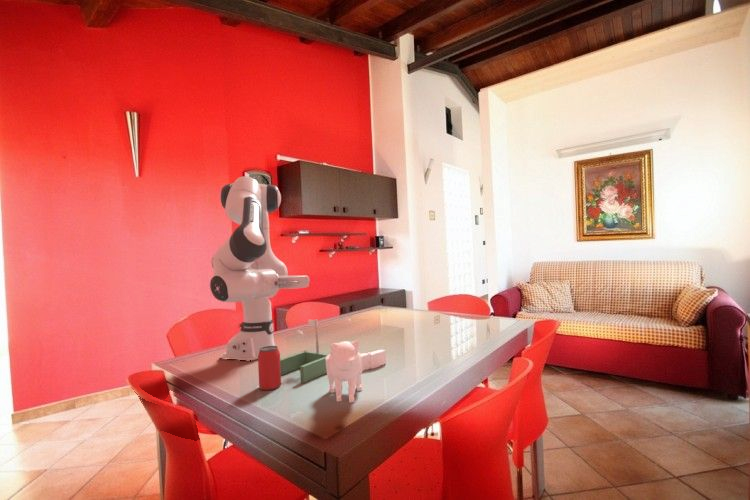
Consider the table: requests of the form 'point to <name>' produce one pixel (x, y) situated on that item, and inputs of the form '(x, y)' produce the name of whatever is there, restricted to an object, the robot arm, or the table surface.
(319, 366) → the green low-walled tray
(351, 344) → the cat figurine
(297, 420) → the table surface
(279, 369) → the beer can
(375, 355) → the napkin holder
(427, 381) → the table surface
